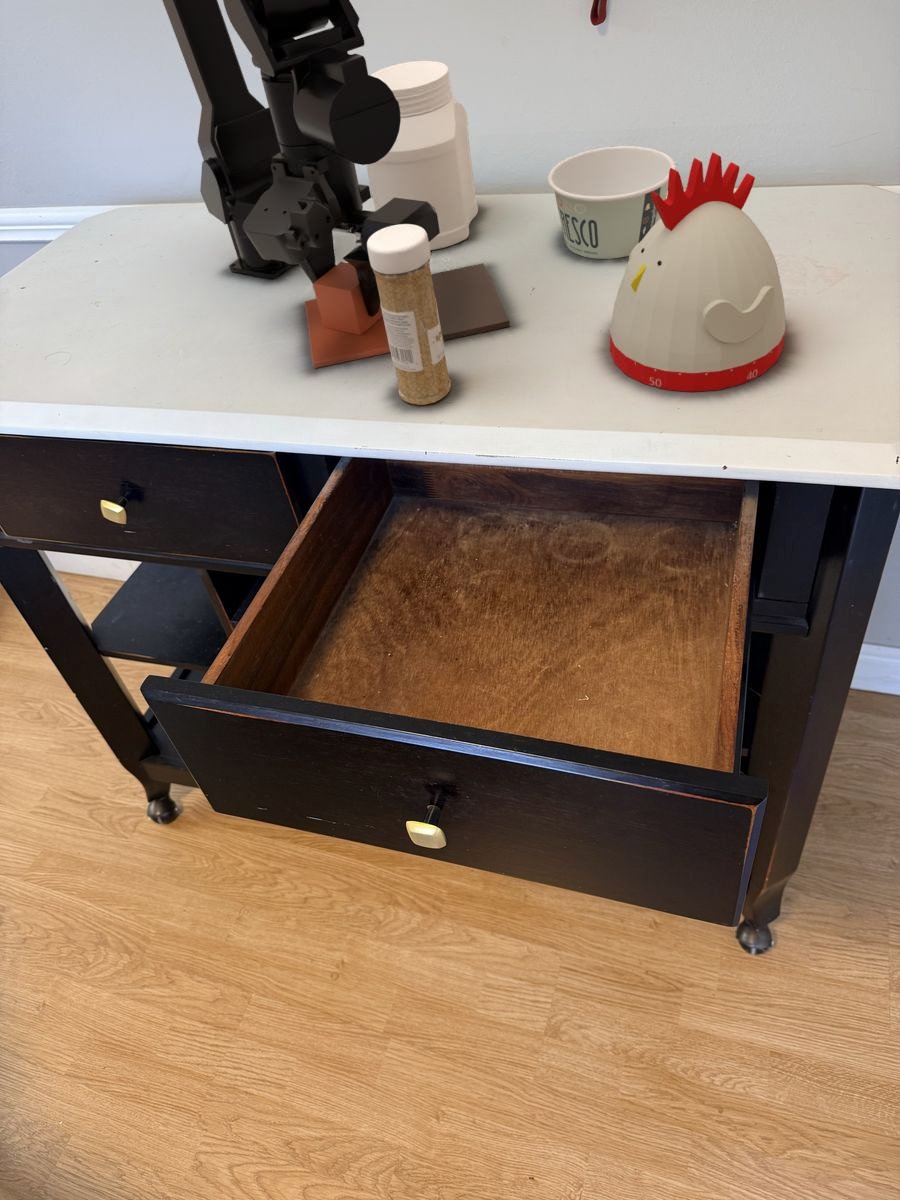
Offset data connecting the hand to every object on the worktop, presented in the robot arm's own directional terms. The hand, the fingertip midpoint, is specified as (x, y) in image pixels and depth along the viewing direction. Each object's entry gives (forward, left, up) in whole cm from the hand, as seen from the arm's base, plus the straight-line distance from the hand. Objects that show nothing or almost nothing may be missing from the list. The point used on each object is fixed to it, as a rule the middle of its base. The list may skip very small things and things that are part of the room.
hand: (353, 310), depth 84 cm
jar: (-5, +20, -2) cm, 21 cm away
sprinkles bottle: (+12, -7, -2) cm, 14 cm away
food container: (+15, +23, -2) cm, 28 cm away
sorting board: (+3, +3, -2) cm, 5 cm away
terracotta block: (0, 0, -1) cm, 1 cm away
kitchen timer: (+30, +7, -2) cm, 31 cm away
